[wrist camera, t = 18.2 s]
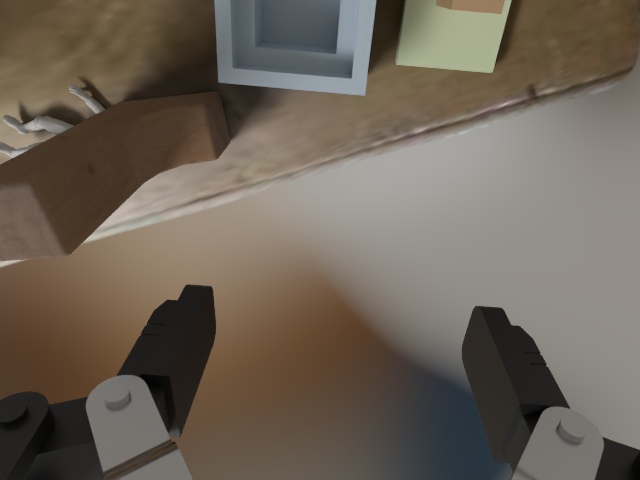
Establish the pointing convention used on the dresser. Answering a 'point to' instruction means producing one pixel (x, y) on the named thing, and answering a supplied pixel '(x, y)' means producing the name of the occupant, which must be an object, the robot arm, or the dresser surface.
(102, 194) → the wooden block
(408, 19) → the lid
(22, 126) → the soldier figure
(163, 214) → the dresser surface
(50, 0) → the dresser surface
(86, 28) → the dresser surface
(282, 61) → the blue-grey open box
